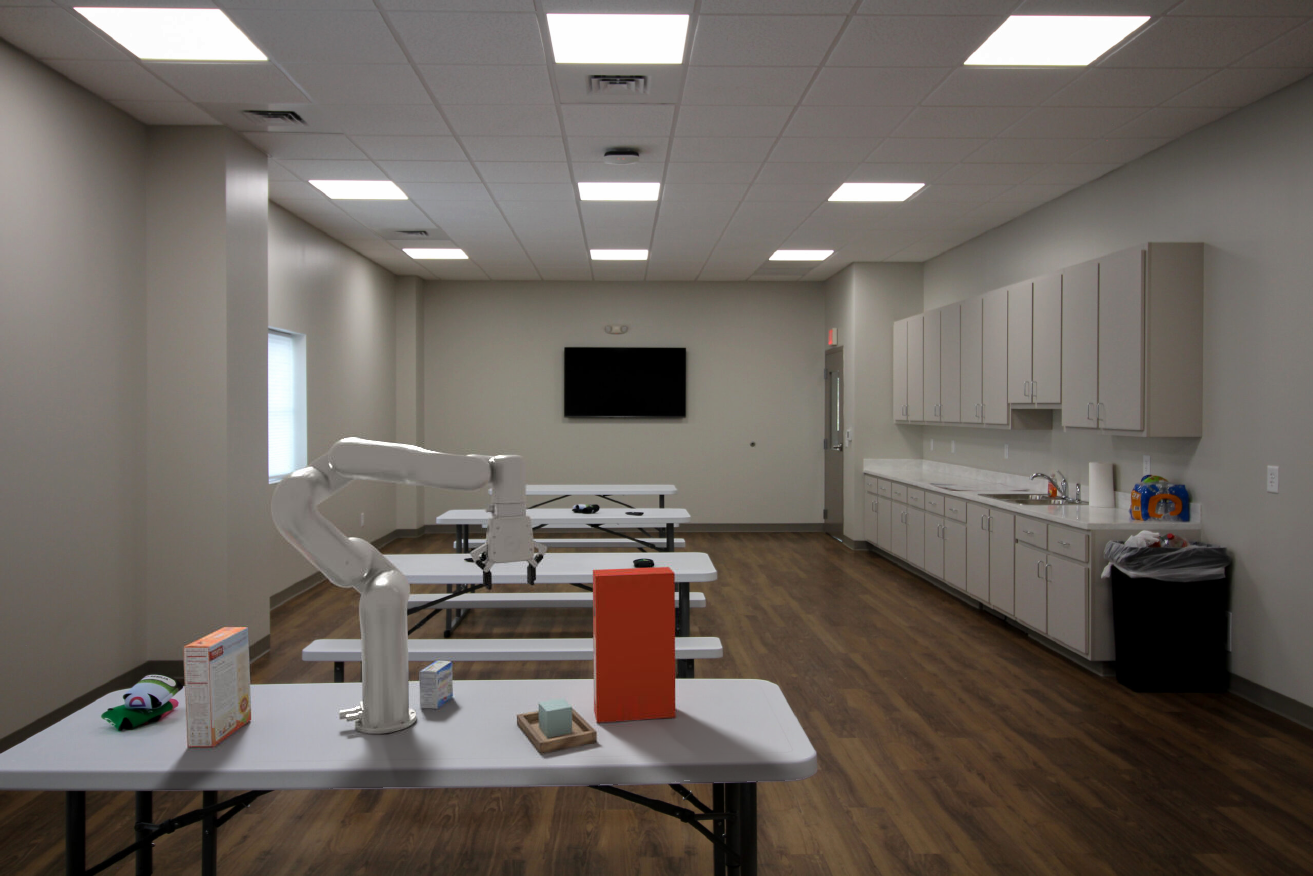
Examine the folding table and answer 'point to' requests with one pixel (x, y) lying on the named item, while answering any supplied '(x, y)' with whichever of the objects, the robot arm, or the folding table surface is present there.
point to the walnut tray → (578, 737)
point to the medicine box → (436, 684)
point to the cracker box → (217, 686)
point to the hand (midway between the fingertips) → (509, 586)
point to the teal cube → (555, 717)
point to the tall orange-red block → (634, 643)
